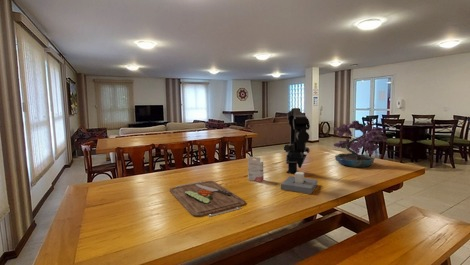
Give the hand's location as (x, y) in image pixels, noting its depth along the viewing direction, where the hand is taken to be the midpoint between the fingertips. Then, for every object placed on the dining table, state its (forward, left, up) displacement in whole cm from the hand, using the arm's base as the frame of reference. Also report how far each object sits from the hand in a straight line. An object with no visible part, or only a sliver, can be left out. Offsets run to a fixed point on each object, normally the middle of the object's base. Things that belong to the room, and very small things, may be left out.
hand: (299, 167), depth 139 cm
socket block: (0, 0, -11) cm, 11 cm away
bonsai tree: (-66, +25, -11) cm, 71 cm away
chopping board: (+35, -39, -12) cm, 54 cm away
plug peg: (0, 0, -11) cm, 11 cm away
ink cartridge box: (-1, -27, -11) cm, 29 cm away
